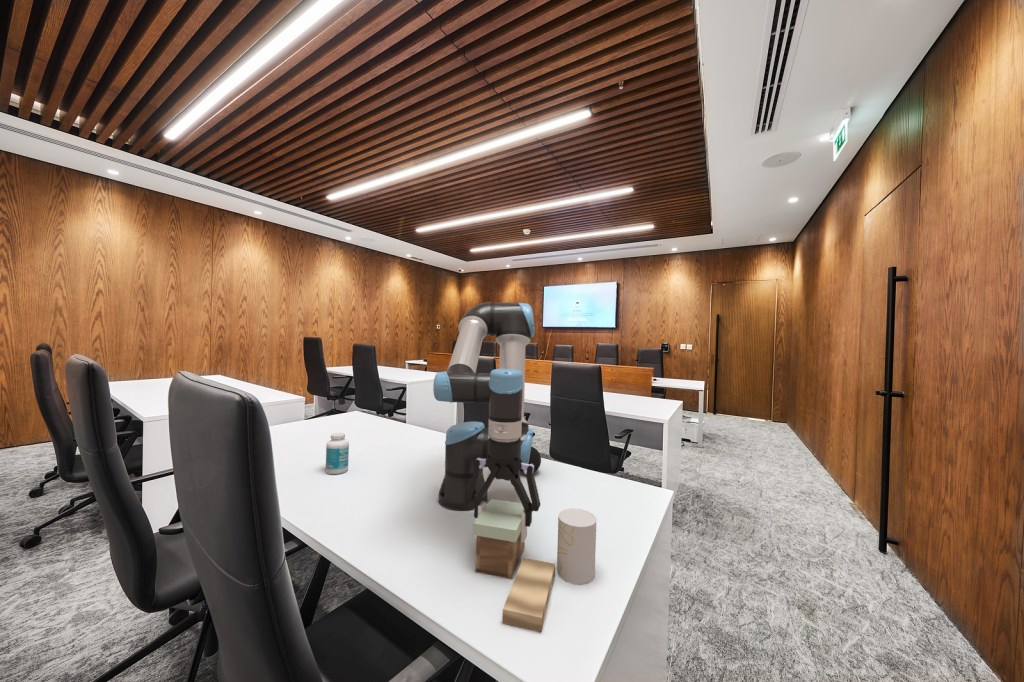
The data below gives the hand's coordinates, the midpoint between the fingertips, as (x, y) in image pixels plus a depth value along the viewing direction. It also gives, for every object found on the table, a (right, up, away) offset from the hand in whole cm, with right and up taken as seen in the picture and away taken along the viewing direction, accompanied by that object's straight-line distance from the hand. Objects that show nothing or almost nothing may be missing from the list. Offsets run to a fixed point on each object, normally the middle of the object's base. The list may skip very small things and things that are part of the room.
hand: (502, 535), depth 85 cm
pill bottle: (-61, -3, +50) cm, 79 cm away
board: (+6, -6, -12) cm, 14 cm away
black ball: (+8, -5, +54) cm, 55 cm away
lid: (0, +2, 0) cm, 2 cm away
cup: (+16, -6, -4) cm, 18 cm away
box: (0, -5, 0) cm, 5 cm away
